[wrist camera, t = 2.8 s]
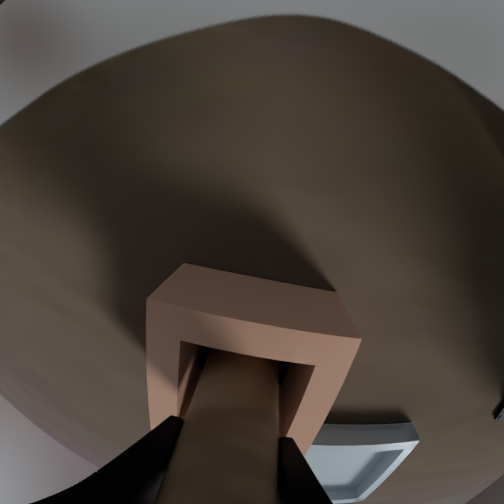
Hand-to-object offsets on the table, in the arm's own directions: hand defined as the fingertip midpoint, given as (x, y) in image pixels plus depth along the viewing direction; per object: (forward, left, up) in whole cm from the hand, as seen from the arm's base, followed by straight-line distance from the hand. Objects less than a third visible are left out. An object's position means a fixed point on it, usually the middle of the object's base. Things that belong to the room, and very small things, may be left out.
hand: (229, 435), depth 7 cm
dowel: (0, 0, -5) cm, 5 cm away
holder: (0, 0, -6) cm, 6 cm away
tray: (-5, +9, -6) cm, 12 cm away
